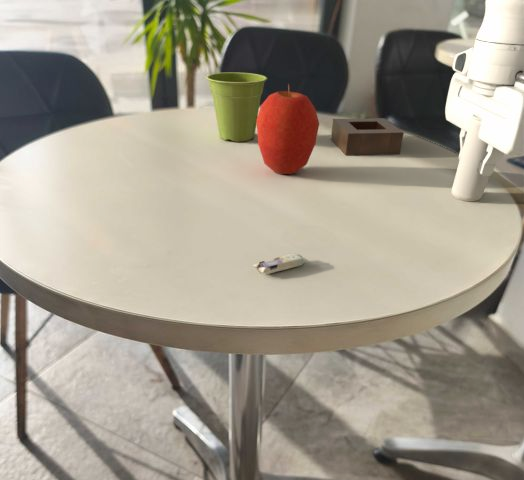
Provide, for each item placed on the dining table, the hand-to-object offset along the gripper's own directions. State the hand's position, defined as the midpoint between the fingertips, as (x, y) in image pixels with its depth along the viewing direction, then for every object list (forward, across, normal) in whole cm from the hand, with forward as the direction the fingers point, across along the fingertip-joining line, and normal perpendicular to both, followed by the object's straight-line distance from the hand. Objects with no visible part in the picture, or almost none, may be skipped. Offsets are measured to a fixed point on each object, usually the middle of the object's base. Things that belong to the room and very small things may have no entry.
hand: (474, 167), depth 77 cm
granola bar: (+5, -20, +34) cm, 40 cm away
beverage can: (+5, 0, 0) cm, 5 cm away
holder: (+5, +28, +8) cm, 29 cm away
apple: (+5, +14, +27) cm, 31 cm away
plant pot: (+5, +36, +33) cm, 49 cm away
